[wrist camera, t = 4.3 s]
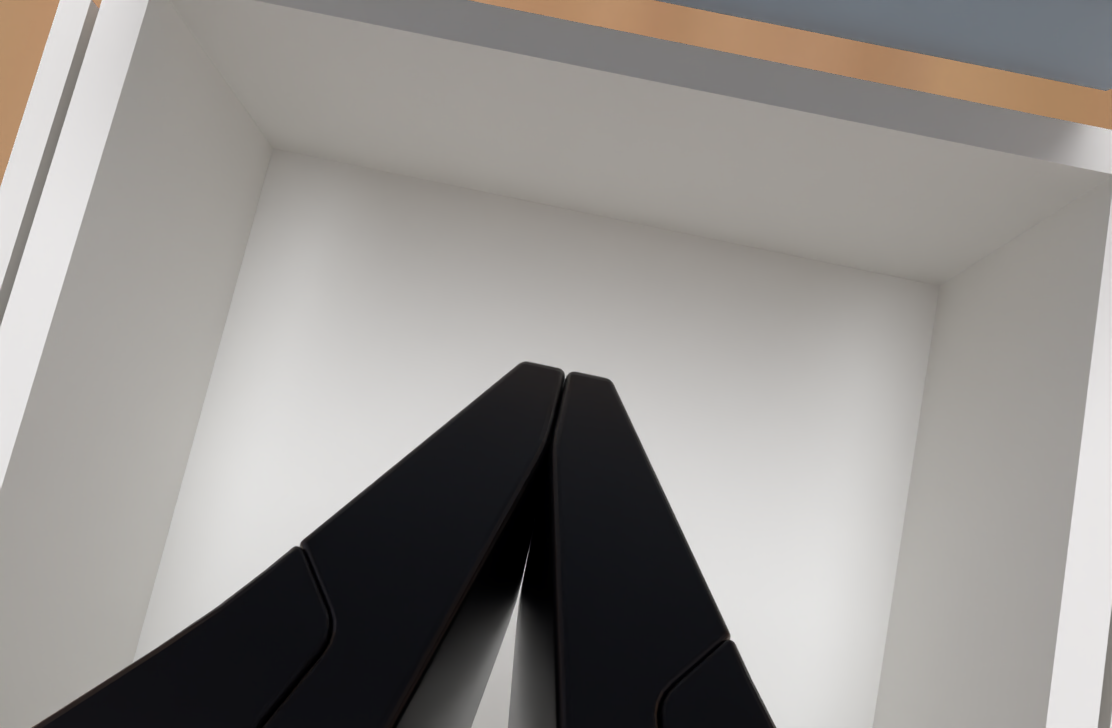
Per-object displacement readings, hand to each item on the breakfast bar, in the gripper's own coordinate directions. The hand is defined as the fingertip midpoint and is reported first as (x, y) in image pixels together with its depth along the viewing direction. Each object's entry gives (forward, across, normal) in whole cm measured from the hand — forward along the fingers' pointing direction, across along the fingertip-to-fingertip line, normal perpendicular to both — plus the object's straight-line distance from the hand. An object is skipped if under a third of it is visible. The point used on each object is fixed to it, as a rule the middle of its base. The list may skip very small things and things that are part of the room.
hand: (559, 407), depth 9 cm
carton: (+6, 0, +7) cm, 10 cm away
